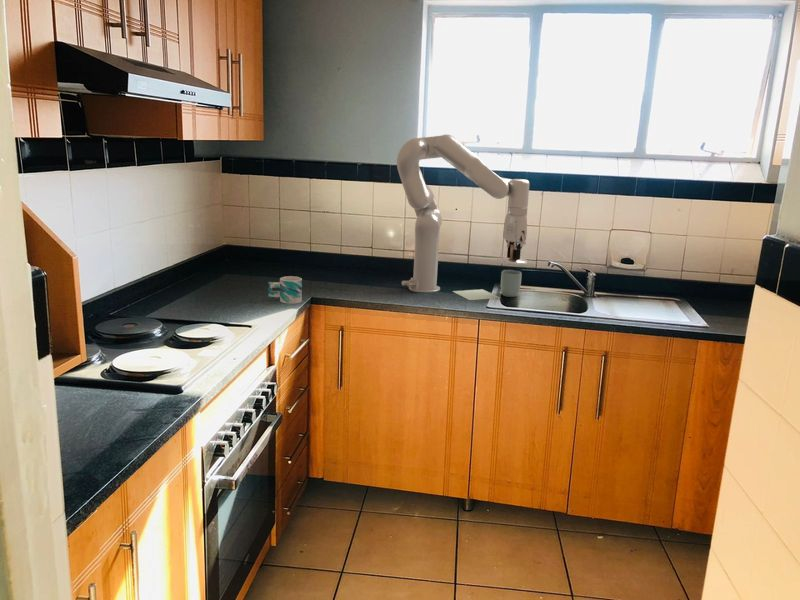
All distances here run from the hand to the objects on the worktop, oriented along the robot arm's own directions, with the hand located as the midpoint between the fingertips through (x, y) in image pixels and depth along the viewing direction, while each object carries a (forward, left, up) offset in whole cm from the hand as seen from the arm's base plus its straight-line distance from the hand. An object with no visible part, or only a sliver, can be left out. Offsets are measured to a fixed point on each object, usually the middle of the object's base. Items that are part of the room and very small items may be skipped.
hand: (513, 258), depth 259 cm
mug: (-87, +15, -16) cm, 90 cm away
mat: (-13, +4, -16) cm, 21 cm away
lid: (0, 0, -2) cm, 2 cm away
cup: (0, 0, -16) cm, 16 cm away
